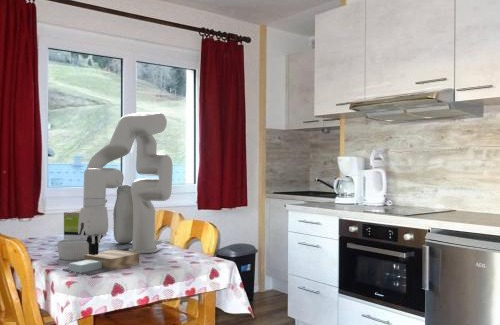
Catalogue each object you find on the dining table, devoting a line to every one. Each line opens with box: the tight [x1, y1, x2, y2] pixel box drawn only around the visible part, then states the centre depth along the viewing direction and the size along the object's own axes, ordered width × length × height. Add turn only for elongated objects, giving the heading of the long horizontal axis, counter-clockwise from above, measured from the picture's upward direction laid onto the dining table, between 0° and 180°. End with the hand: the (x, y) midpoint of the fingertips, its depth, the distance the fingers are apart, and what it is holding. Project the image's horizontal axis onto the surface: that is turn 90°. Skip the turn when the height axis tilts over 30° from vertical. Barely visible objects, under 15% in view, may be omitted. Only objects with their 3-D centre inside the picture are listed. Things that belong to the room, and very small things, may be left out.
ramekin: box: [56, 239, 89, 261], centre depth 181 cm, size 13×13×7 cm
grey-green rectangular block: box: [68, 259, 102, 274], centre depth 159 cm, size 9×6×2 cm, turn 149°
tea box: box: [63, 209, 81, 240], centre depth 226 cm, size 15×10×15 cm
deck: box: [83, 248, 140, 271], centre depth 169 cm, size 14×14×4 cm
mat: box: [62, 267, 112, 276], centre depth 159 cm, size 9×14×1 cm, turn 59°
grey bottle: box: [112, 184, 133, 245], centre depth 218 cm, size 10×10×28 cm
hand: (93, 254), depth 162 cm, fingers closed
